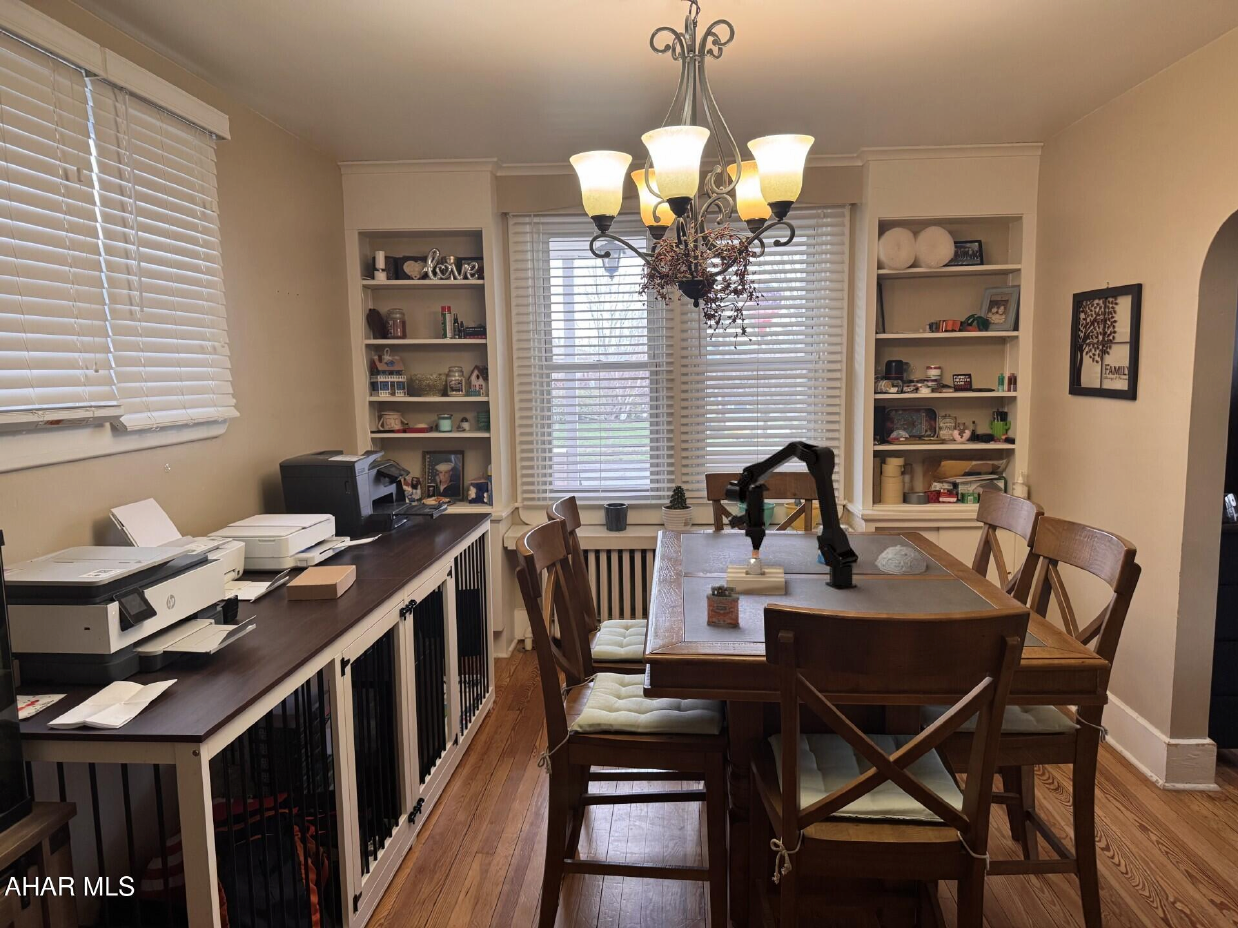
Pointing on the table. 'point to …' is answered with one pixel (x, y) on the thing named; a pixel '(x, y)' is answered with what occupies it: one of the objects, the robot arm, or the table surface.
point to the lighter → (723, 607)
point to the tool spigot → (755, 566)
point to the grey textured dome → (901, 561)
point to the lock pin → (755, 553)
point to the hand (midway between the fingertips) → (755, 553)
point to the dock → (756, 580)
